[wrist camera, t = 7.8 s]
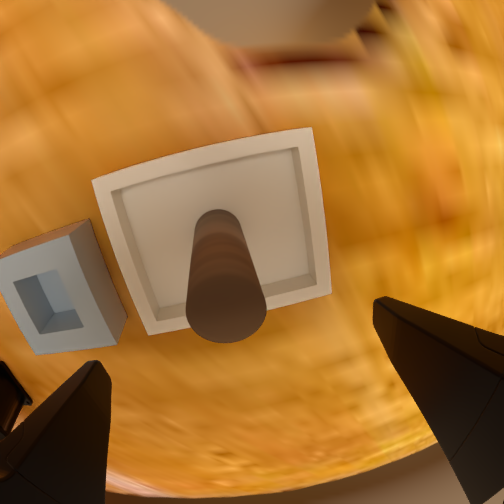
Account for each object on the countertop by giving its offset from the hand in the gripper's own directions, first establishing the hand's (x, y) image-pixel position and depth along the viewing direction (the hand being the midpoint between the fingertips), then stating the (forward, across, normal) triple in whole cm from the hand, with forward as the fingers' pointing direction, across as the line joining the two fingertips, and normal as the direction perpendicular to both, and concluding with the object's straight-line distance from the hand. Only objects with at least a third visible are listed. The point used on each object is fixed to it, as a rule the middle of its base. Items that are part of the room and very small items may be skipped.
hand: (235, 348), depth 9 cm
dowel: (+11, 0, 0) cm, 11 cm away
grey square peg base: (+12, +13, +1) cm, 18 cm away
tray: (+12, 0, 0) cm, 12 cm away
